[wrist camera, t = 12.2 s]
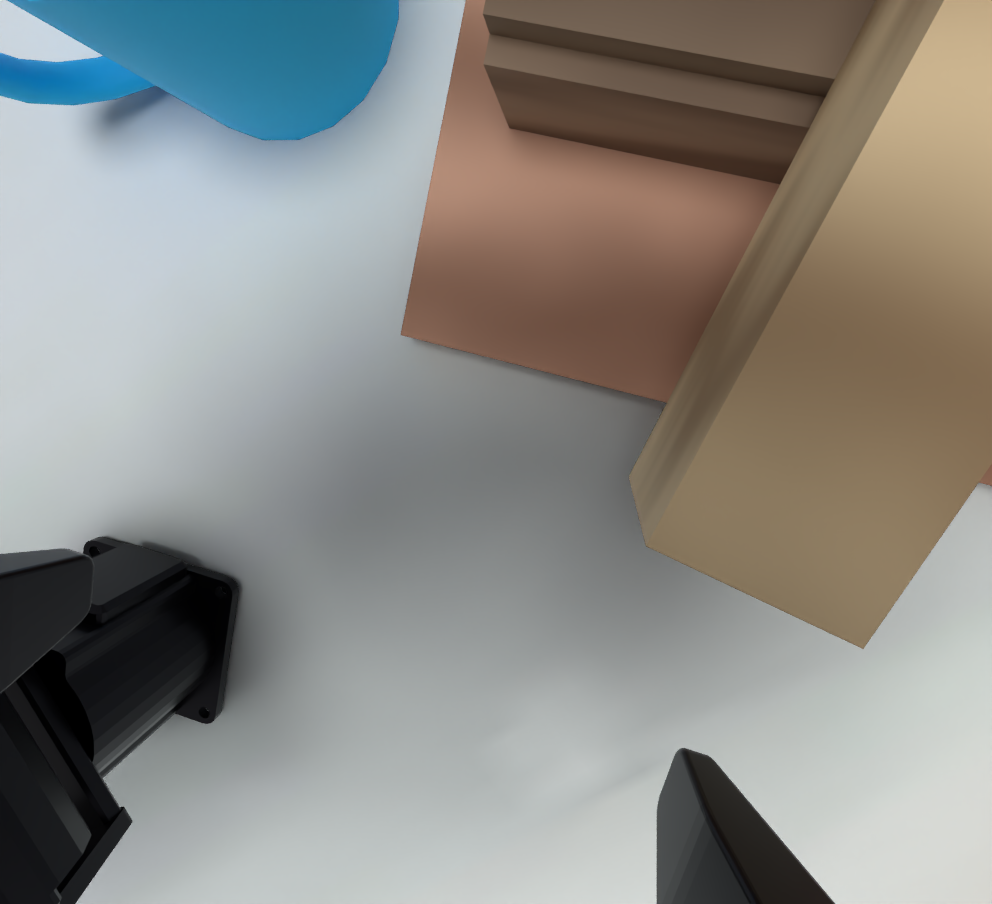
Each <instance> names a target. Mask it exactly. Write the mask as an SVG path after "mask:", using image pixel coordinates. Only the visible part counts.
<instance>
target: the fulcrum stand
mask: <svg viewBox="0 0 992 904" xmlns="http://www.w3.org/2000/svg"><path fill="white" fill-rule="evenodd" d="M875 1H876V0H466V3H465V8H464V13H463V18H462V23H461V28H460V33H459V39H458V44H457V49H456V54H455V59H454V64H453V69H452V74H451V79H450V85H449V90H448V95H447V100H446V105H445V110H444V115H443V120H442V126H441V131H440V136H439V141H438V146H437V151H436V156H435V161H434V167H433V172H432V177H431V182H430V187H429V192H428V197H427V202H426V207H425V213H424V218H423V223H422V228H421V233H420V238H419V243H418V248H417V254H416V259H415V264H414V269H413V274H412V279H411V284H410V289H409V294H408V300H407V305H406V310H405V315H404V320H403V325H402V330H401V335H403V336H407V337H411V338H415V339H419V340H422V341H426V342H430V343H434V344H438V345H442V346H446V347H450V348H454V349H458V350H462V351H466V352H469V353H473V354H477V355H481V356H485V357H489V358H493V359H497V360H501V361H505V362H509V363H513V364H517V365H520V366H524V367H528V368H532V369H536V370H540V371H544V372H548V373H552V374H556V375H560V376H564V377H568V378H571V379H575V380H579V381H583V382H587V383H591V384H595V385H599V386H603V387H607V388H611V389H615V390H619V391H622V392H626V393H630V394H634V395H638V396H642V397H646V398H650V399H654V400H658V401H662V402H666V403H667V402H668V400H669V398H670V396H671V394H672V392H673V390H674V388H675V386H676V384H677V382H678V380H679V379H680V377H681V375H682V373H683V371H684V369H685V367H686V365H687V363H688V361H689V359H690V357H691V355H692V353H693V352H694V350H695V348H696V346H697V344H698V342H699V340H700V338H701V336H702V334H703V332H704V330H705V328H706V326H707V325H708V323H709V321H710V319H711V317H712V315H713V313H714V311H715V309H716V307H717V305H718V303H719V301H720V300H721V298H722V296H723V294H724V292H725V290H726V288H727V286H728V284H729V282H730V280H731V278H732V276H733V274H734V273H735V271H736V269H737V267H738V265H739V263H740V261H741V259H742V257H743V255H744V253H745V251H746V249H747V247H748V246H749V244H750V242H751V240H752V238H753V236H754V234H755V232H756V230H757V228H758V226H759V224H760V222H761V221H762V219H763V217H764V215H765V213H766V211H767V209H768V207H769V205H770V203H771V201H772V199H773V197H774V195H775V194H776V192H777V190H778V188H779V186H780V184H781V182H782V180H783V178H784V176H785V174H786V172H787V170H788V168H789V167H790V165H791V163H792V161H793V159H794V157H795V155H796V153H797V151H798V149H799V147H800V145H801V143H802V142H803V140H804V138H805V136H806V134H807V132H808V130H809V128H810V126H811V124H812V122H813V120H814V118H815V116H816V115H817V113H818V111H819V109H820V107H821V105H822V103H823V101H824V99H825V97H826V95H827V93H828V91H829V89H830V88H831V86H832V84H833V82H834V80H835V78H836V76H837V74H838V72H839V70H840V68H841V66H842V64H843V63H844V61H845V59H846V57H847V55H848V53H849V51H850V49H851V47H852V45H853V43H854V41H855V39H856V37H857V36H858V34H859V32H860V30H861V28H862V26H863V24H864V22H865V20H866V18H867V16H868V14H869V12H870V10H871V9H872V7H873V5H874V3H875ZM979 483H983V484H987V485H991V486H992V464H991V465H990V467H989V468H988V470H987V471H986V473H985V474H984V475H983V477H982V478H981V480H980V481H979Z"/></svg>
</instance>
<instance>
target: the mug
mask: <svg viewBox="0 0 992 904" xmlns="http://www.w3.org/2000/svg"><path fill="white" fill-rule="evenodd" d="M8 1H9V2H11V3H13V4H14V5H16V6H18V7H20V8H21V9H23V10H25V11H27V12H28V13H30V14H32V15H34V16H35V17H37V18H39V19H41V20H42V21H44V22H46V23H48V24H49V25H51V26H53V27H55V28H56V29H58V30H60V31H62V32H63V33H65V34H67V35H68V36H70V37H72V38H74V39H75V40H77V41H79V42H81V43H82V44H84V45H86V46H88V47H89V48H91V49H93V50H95V51H96V52H98V53H100V54H102V55H103V56H101V57H98V58H90V59H82V60H73V61H64V62H48V61H37V60H26V59H18V58H15V57H12V56H9V55H6V54H3V53H0V96H3V97H7V98H11V99H15V100H18V101H22V102H26V103H34V104H57V105H79V104H86V103H93V102H100V101H107V100H113V99H118V98H121V97H124V96H127V95H130V94H133V93H136V92H139V91H142V90H145V89H148V88H151V87H154V86H157V87H159V88H161V89H163V90H164V91H166V92H168V93H170V94H171V95H173V96H175V97H176V98H178V99H180V100H182V101H183V102H185V103H187V104H189V105H190V106H192V107H194V108H196V109H197V110H199V111H201V112H203V113H204V114H206V115H208V116H210V117H211V118H213V119H215V120H217V121H218V122H220V123H222V124H224V125H225V126H227V127H229V128H231V129H234V130H237V131H239V132H242V133H245V134H248V135H250V136H253V137H256V138H259V139H261V140H299V139H302V138H305V137H307V136H310V135H312V134H315V133H317V132H320V131H322V130H325V129H327V128H330V127H332V126H334V125H335V124H336V123H338V122H339V121H340V120H341V119H342V118H343V117H344V116H346V115H347V114H348V113H349V112H350V111H351V110H353V109H354V108H355V107H356V106H357V105H358V104H359V103H361V102H362V101H363V100H364V98H365V97H366V95H367V93H368V92H369V90H370V89H371V87H372V85H373V84H374V82H375V80H376V79H377V77H378V75H379V74H380V72H381V71H382V69H383V67H384V66H385V64H386V62H387V58H388V55H389V51H390V47H391V44H392V40H393V37H394V33H395V29H396V26H397V22H398V19H399V0H8Z"/></svg>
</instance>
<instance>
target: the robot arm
mask: <svg viewBox="0 0 992 904" xmlns="http://www.w3.org/2000/svg"><path fill="white" fill-rule="evenodd" d="M98 549H99V550H100V552H99V551H98ZM221 587H223V588H225V590H226V592H227V594H225V593H224V592H223V591H222V589H221ZM238 593H239V588H238V585H237V583H236V582H235V581H234V580H233V579H232V578H230V577H228V576H225V575H222V574H218V573H215V572H212V571H209V570H206V569H203V568H199V567H196V566H193V565H190V564H187V563H185V562H184V561H183V560H181V559H178V558H175V557H171V556H168V555H165V554H162V553H159V552H156V551H152V550H149V549H146V548H143V547H140V546H137V545H133V544H130V543H126V544H124V543H121V542H117V541H114V540H111V539H108V538H105V537H98V538H95V539H93V540H90V541H88V542H87V543H86V544H85V546H84V551H83V554H82V553H79V552H76V551H73V550H70V549H51V550H40V551H29V552H19V553H8V554H0V904H75V903H76V902H77V900H78V899H79V898H80V896H81V895H82V893H83V892H84V890H85V889H86V888H87V886H88V885H89V883H90V882H91V880H92V879H93V878H94V876H95V875H96V873H97V872H98V870H99V869H100V868H101V866H102V865H103V863H104V862H105V860H106V859H107V858H108V856H109V855H110V853H111V852H112V850H113V849H114V848H115V846H116V845H117V843H118V842H119V840H120V839H121V838H122V836H123V835H124V833H125V832H126V830H127V829H128V828H129V826H130V825H131V823H132V819H131V818H130V816H129V814H128V813H127V811H126V809H125V808H124V807H119V805H118V803H117V802H116V800H115V798H114V797H113V795H112V794H111V792H110V790H109V789H108V787H107V785H106V784H105V782H104V780H103V779H102V778H103V777H104V776H106V775H107V774H108V773H109V772H110V771H111V770H112V769H113V768H114V767H116V766H117V765H118V764H119V763H120V762H121V761H122V760H123V759H124V758H126V757H127V756H128V755H129V754H130V753H131V752H132V751H133V750H135V749H136V748H137V747H138V746H139V745H140V744H141V743H142V742H143V741H145V740H146V739H147V738H148V737H149V736H150V735H151V734H152V733H153V732H155V731H156V730H157V729H158V728H159V727H160V726H161V725H162V724H163V723H165V722H166V721H167V720H168V719H169V718H170V717H171V716H172V715H174V714H178V715H181V716H184V717H187V718H190V719H193V720H195V721H198V722H201V723H205V724H208V723H211V722H213V721H214V720H215V719H216V718H217V717H218V716H219V715H220V713H221V711H222V704H223V697H224V690H225V683H226V676H227V669H228V662H229V656H230V649H231V642H232V635H233V628H234V621H235V614H236V607H237V600H238ZM206 708H207V709H208V710H209V711H208V710H207V709H206ZM657 904H835V903H834V902H833V901H832V899H831V898H830V897H829V896H828V895H827V893H826V892H825V891H824V890H823V889H822V888H821V886H820V885H819V884H818V883H817V882H816V880H815V879H814V878H813V877H812V876H811V875H810V873H809V872H808V871H807V870H806V869H805V867H804V866H803V865H802V864H801V863H800V862H799V860H798V859H797V858H796V857H795V856H794V854H793V853H792V852H791V851H790V850H789V849H788V847H787V846H786V845H785V844H784V843H783V841H782V840H781V839H780V838H779V837H778V836H777V834H776V833H775V832H774V831H773V830H772V828H771V827H770V826H769V825H768V824H767V823H766V821H765V820H764V819H763V818H762V817H761V815H760V814H759V813H758V812H757V811H756V810H755V808H754V807H753V806H752V805H751V804H750V802H749V801H748V800H747V799H746V798H745V797H744V795H743V794H742V793H741V792H740V791H739V789H738V788H737V787H736V786H735V785H734V784H733V782H732V781H731V780H730V779H729V778H728V776H727V775H726V774H725V773H724V772H723V771H722V769H721V768H720V767H719V766H718V765H717V763H716V762H715V761H714V760H713V759H712V758H711V757H709V756H708V755H705V754H702V753H698V752H695V751H692V750H689V749H686V748H681V749H679V750H678V751H677V753H676V754H675V756H674V759H673V761H672V764H671V767H670V769H669V772H668V775H667V777H666V780H665V783H664V786H663V788H662V791H661V794H660V797H659V801H658V807H657Z"/></svg>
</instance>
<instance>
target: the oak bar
mask: <svg viewBox="0 0 992 904" xmlns="http://www.w3.org/2000/svg"><path fill="white" fill-rule="evenodd" d="M991 464H992V0H876V1H875V3H874V5H873V7H872V9H871V10H870V12H869V14H868V16H867V18H866V20H865V22H864V24H863V26H862V28H861V30H860V32H859V34H858V36H857V37H856V39H855V41H854V43H853V45H852V47H851V49H850V51H849V53H848V55H847V57H846V59H845V61H844V63H843V64H842V66H841V68H840V70H839V72H838V74H837V76H836V78H835V80H834V82H833V84H832V86H831V88H830V89H829V91H828V93H827V95H826V97H825V99H824V101H823V103H822V105H821V107H820V109H819V111H818V113H817V115H816V116H815V118H814V120H813V122H812V124H811V126H810V128H809V130H808V132H807V134H806V136H805V138H804V140H803V142H802V143H801V145H800V147H799V149H798V151H797V153H796V155H795V157H794V159H793V161H792V163H791V165H790V167H789V168H788V170H787V172H786V174H785V176H784V178H783V180H782V182H781V184H780V186H779V188H778V190H777V192H776V194H775V195H774V197H773V199H772V201H771V203H770V205H769V207H768V209H767V211H766V213H765V215H764V217H763V219H762V221H761V222H760V224H759V226H758V228H757V230H756V232H755V234H754V236H753V238H752V240H751V242H750V244H749V246H748V247H747V249H746V251H745V253H744V255H743V257H742V259H741V261H740V263H739V265H738V267H737V269H736V271H735V273H734V274H733V276H732V278H731V280H730V282H729V284H728V286H727V288H726V290H725V292H724V294H723V296H722V298H721V300H720V301H719V303H718V305H717V307H716V309H715V311H714V313H713V315H712V317H711V319H710V321H709V323H708V325H707V326H706V328H705V330H704V332H703V334H702V336H701V338H700V340H699V342H698V344H697V346H696V348H695V350H694V352H693V353H692V355H691V357H690V359H689V361H688V363H687V365H686V367H685V369H684V371H683V373H682V375H681V377H680V379H679V380H678V382H677V384H676V386H675V388H674V390H673V392H672V394H671V396H670V398H669V400H668V402H667V404H666V405H665V407H664V409H663V411H662V413H661V415H660V417H659V419H658V421H657V423H656V425H655V427H654V429H653V431H652V432H651V434H650V436H649V438H648V440H647V442H646V444H645V446H644V448H643V450H642V452H641V454H640V456H639V458H638V459H637V461H636V463H635V465H634V467H633V469H632V471H631V473H630V475H629V480H630V484H631V489H632V493H633V497H634V501H635V505H636V509H637V513H638V517H639V521H640V525H641V529H642V533H643V537H644V541H645V545H646V547H649V548H651V549H653V550H655V551H657V552H659V553H661V554H663V555H665V556H668V557H670V558H672V559H674V560H676V561H678V562H680V563H682V564H684V565H687V566H689V567H691V568H693V569H695V570H697V571H699V572H701V573H704V574H706V575H708V576H710V577H712V578H714V579H716V580H718V581H720V582H723V583H725V584H727V585H729V586H731V587H733V588H735V589H737V590H739V591H742V592H744V593H746V594H748V595H750V596H752V597H754V598H756V599H759V600H761V601H763V602H765V603H767V604H769V605H771V606H773V607H775V608H778V609H780V610H782V611H784V612H786V613H788V614H790V615H792V616H794V617H797V618H799V619H801V620H803V621H805V622H807V623H809V624H811V625H813V626H816V627H818V628H820V629H822V630H824V631H826V632H828V633H830V634H833V635H835V636H837V637H839V638H841V639H843V640H845V641H847V642H849V643H852V644H854V645H856V646H858V647H860V648H862V649H864V647H865V646H866V644H867V643H868V641H869V640H870V639H871V637H872V636H873V634H874V633H875V631H876V630H877V628H878V627H879V626H880V624H881V623H882V621H883V620H884V618H885V617H886V615H887V614H888V613H889V611H890V610H891V608H892V607H893V605H894V604H895V602H896V601H897V600H898V598H899V597H900V595H901V594H902V592H903V591H904V589H905V588H906V587H907V585H908V584H909V582H910V581H911V579H912V578H913V576H914V575H915V574H916V572H917V571H918V569H919V568H920V566H921V565H922V563H923V562H924V561H925V559H926V558H927V556H928V555H929V553H930V552H931V551H932V549H933V548H934V546H935V545H936V543H937V542H938V540H939V539H940V538H941V536H942V535H943V533H944V532H945V530H946V529H947V527H948V526H949V525H950V523H951V522H952V520H953V519H954V517H955V516H956V514H957V513H958V512H959V510H960V509H961V507H962V506H963V504H964V503H965V501H966V500H967V499H968V497H969V496H970V494H971V493H972V491H973V490H974V488H975V487H976V486H977V484H978V483H979V481H980V480H981V478H982V477H983V475H984V474H985V473H986V471H987V470H988V468H989V467H990V465H991Z"/></svg>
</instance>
